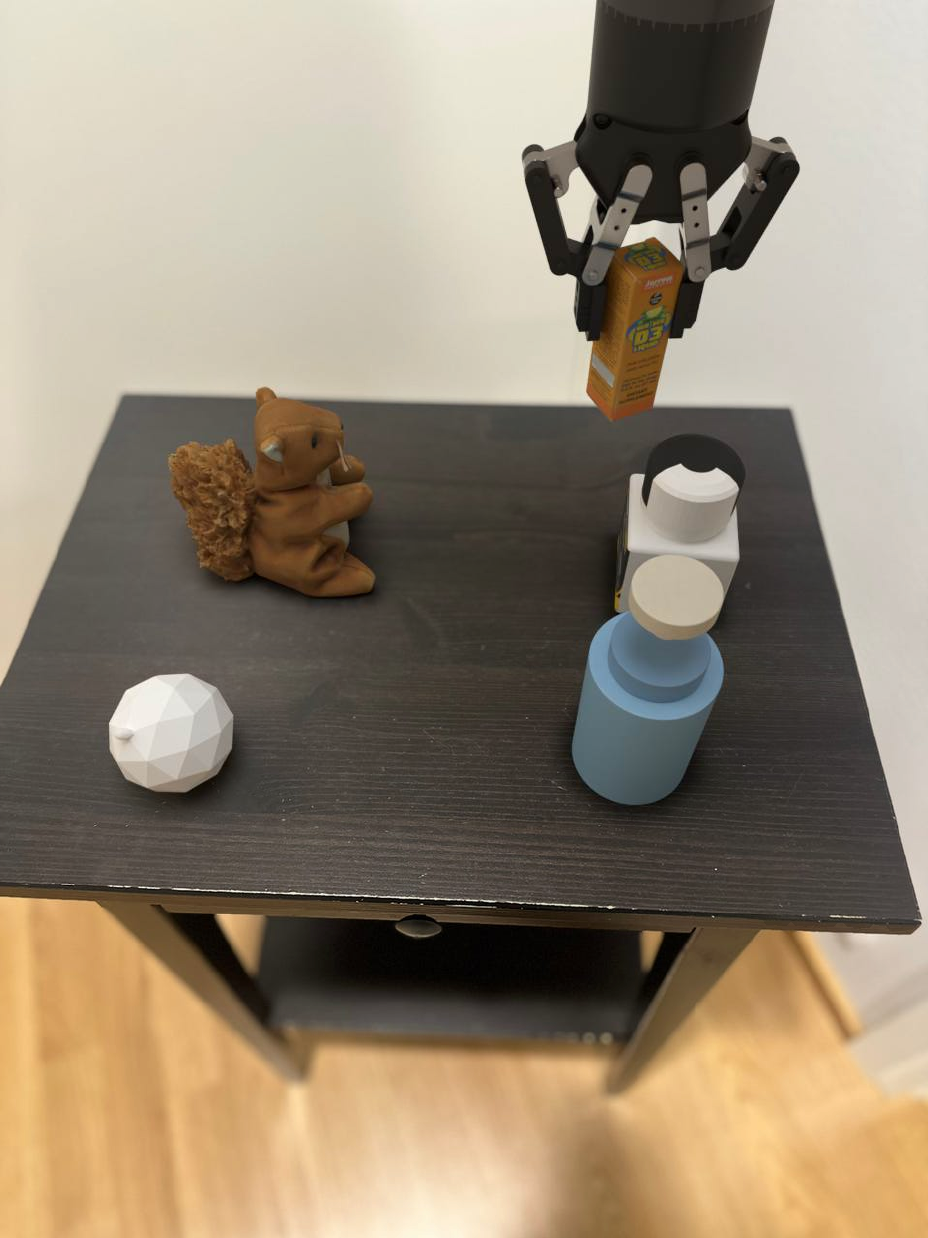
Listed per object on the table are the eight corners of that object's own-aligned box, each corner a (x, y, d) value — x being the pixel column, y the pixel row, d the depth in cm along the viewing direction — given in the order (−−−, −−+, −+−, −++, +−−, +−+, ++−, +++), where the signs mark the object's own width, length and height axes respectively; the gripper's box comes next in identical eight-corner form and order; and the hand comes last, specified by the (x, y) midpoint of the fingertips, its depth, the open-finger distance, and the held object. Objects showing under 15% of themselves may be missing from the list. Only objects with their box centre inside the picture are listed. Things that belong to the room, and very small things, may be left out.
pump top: (700, 592, 46) (713, 551, 43) (718, 661, 43) (733, 623, 40) (616, 595, 45) (624, 555, 43) (629, 665, 43) (639, 627, 40)
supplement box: (611, 426, 53) (632, 277, 45) (584, 394, 55) (599, 246, 47) (658, 411, 54) (686, 261, 46) (629, 379, 56) (652, 231, 48)
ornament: (259, 788, 54) (166, 799, 46) (168, 786, 57) (66, 796, 50) (261, 674, 55) (169, 667, 47) (170, 679, 58) (71, 673, 50)
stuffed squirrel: (384, 595, 63) (365, 460, 52) (187, 615, 62) (127, 482, 51) (376, 497, 69) (357, 357, 58) (196, 514, 68) (144, 376, 57)
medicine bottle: (617, 539, 66) (641, 415, 56) (713, 548, 65) (754, 425, 55) (613, 614, 62) (639, 494, 52) (716, 625, 61) (761, 505, 51)
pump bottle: (674, 701, 57) (714, 587, 48) (696, 802, 53) (745, 700, 43) (565, 706, 57) (583, 593, 47) (579, 808, 53) (602, 707, 43)
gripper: (525, 21, 35) (513, 376, 48) (882, 9, 35) (769, 368, 48) (513, -43, 39) (506, 299, 53) (829, -53, 39) (740, 291, 53)
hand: (632, 330), depth 50 cm, fingers closed on supplement box, 4 cm apart
